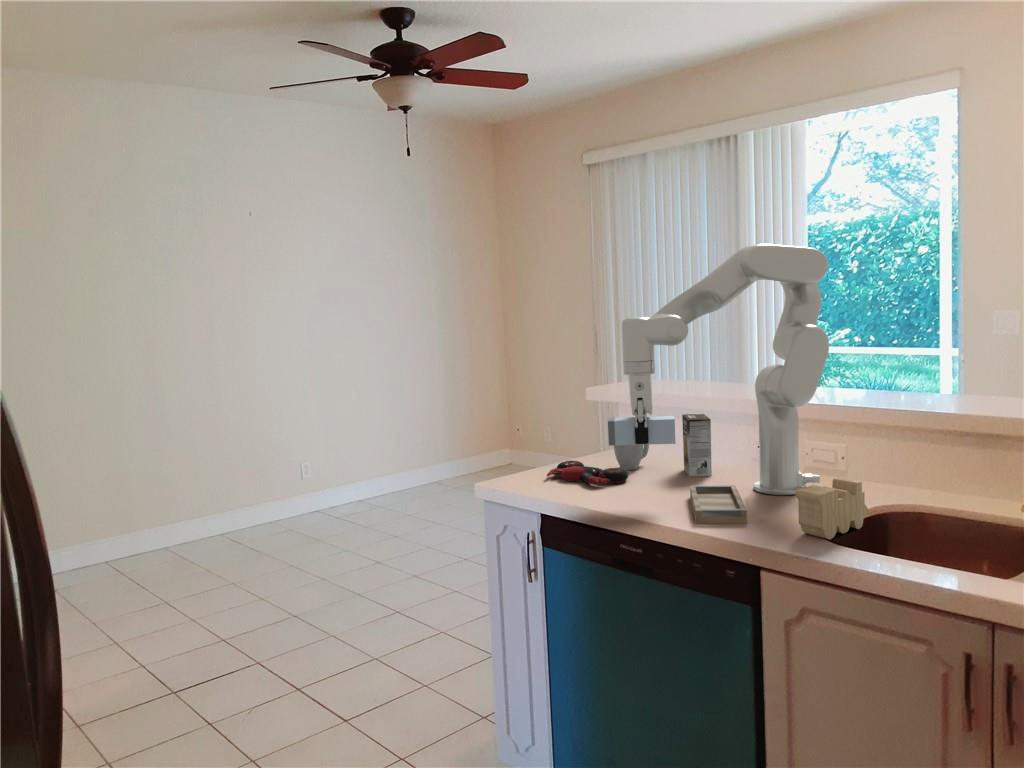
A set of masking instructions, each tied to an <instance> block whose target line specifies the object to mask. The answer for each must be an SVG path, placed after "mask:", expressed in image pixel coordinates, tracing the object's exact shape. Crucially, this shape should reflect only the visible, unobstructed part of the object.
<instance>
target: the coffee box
mask: <svg viewBox="0 0 1024 768" xmlns="http://www.w3.org/2000/svg"><path fill="white" fill-rule="evenodd" d="M681 416H682V420H681V421H682V442H683V443H682V444H683V449H682V451H683V470H684V471H685V472H686V474H687V475H688V476H689V477H709V476H710V477H711V476H713V475H712V424H711V423H712V421H711V418H710V417H708V416H707V415H706V414H704V413H699V414H698V413H689V414H688V413H687V414H686V413H685V414H682V415H681Z"/></svg>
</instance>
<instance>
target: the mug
mask: <svg viewBox="0 0 1024 768" xmlns="http://www.w3.org/2000/svg"><path fill="white" fill-rule="evenodd" d="M649 448H650V444H647V445H613V450H614V451H613V452H614V454H615V458H616V461H617V463H618V465H619V468H620V469H624V470H626V471H633V470H638V469H639V467H640V465H641V464H640V463H642V462H641V461H642V460H643V459H645V458H646V457H647V455H648V454H649V453H648V452H649V450H650V449H649Z"/></svg>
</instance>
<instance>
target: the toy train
mask: <svg viewBox="0 0 1024 768" xmlns="http://www.w3.org/2000/svg"><path fill="white" fill-rule="evenodd" d="M831 483H832V487H830V486H819V485H814V484H811V485H808V486H806V487H805V488H801V489H798V490H796V492H795V494H794V495H795V497H796V499H797V500H798V523H799V525H800V528H801V532H802V533H804V534H807V535H809V536H810V535H811V536H815V537H818V538H821V539H826V540H832V539H833V538H834V537H835V536H836V534H837V533H838V534H839V533H840V534H846V533H848V532H849V529H850V528H852V529H856V530H860V529H861V528H863V524H864V518H865V517H868V516H869V514H870V511H869V509H868V507H867V505H866V501H865V500H866V499H865V492H864V491H863V481H858V480H853V479H846V478H841V477H834V478H832V482H831Z"/></svg>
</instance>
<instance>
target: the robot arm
mask: <svg viewBox="0 0 1024 768" xmlns="http://www.w3.org/2000/svg"><path fill="white" fill-rule="evenodd" d="M828 269H829V262H828V258H827V256H826V254H824V253H823V251H821V250H820V249H817V248H814V247H807V246H797V245H795V246H794V245H784V244H783V245H781V244H774V243H773V244H772V243H759V244H753V245H751V244H750V245H746V246H744V247H742V248H740V249H739V250H737V251H736V252H734V253H733V254H732V255H731V256H730V257H729V258H727V259H726V260H725V261H724V262H722V263H721V264H720V265H718V266H717V268H715V269H714V270H713V271H711V272H710V273H708V275H706V276H705V277H704V278H702V279H701V280H700V281H698V282H696V283H695V284H694V285H692V286H690V287H689V288H688V289H686V290H685V291H683V292H682V293H680V294H679V295H678V296H676V297H674V298H673V299H672V300H671V301H669V302H668V303H666V304H665V305H664V306H663V307H661V308H660V309H659V310H658V311H656V312H655V313H653V315H652V316H651V317H648V316H636V317H635V316H633V317H625V318H624V319H623V320H622V322H621V339H622V340H621V343H622V364H623V365H622V367H623V375H625V376H628V387H629V401H630V407H631V414H632V415H633V417H635V426H636V428H635V443H636V444H648V443H649V439H648V427H647V417H648V416H647V414H649V415H650V416H652V415H653V391H652V389H653V388H652V377H651V375H654V374H655V373H656V371H655V370H656V368H655V367H656V366H655V365H656V364H655V346H669V347H673V346H677V345H679V344H682V343H683V342H684V341H685V340H686V338H687V337H688V334H689V326H688V325H689V324H690V323H692V322H694V321H695V320H697V319H699V318H701V317H702V316H706V315H707V314H711V313H714V312H716V311H719V310H720V309H723V308H724V307H726V306H727V305H728V304H729V303H730V302H732V301H733V300H735V298H737V297H738V296H739V295H741V294H742V293H743V292H744V291H745V290H747V289H748V288H750V287H751V286H752V285H753V284H754V283H755V282H757V281H761V280H763V281H764V280H765V281H775V282H779V283H780V285H781V287H782V289H783V292H784V298H785V299H784V305H783V309H782V313H781V315H780V319H779V322H778V325H777V328H776V330H775V332H774V337H773V341H772V351H773V353H774V354H775V356H777V357H778V358H779V359H782V360H784V363H783V364H770V365H768V366H765V367H763V368H762V369H761V370H760V371H759V372H758V374H757V375H756V378H755V382H754V391H755V398H756V403H757V413H758V439H759V440H758V450H759V451H758V453H759V456H758V457H759V480H758V481H755V482H754V483H753V489H754V491H756V492H758V493H761V494H766V495H772V496H773V495H776V496H790V495H792V496H793V495H795V492H796V490H798V489H801V488H805V487H807V483H809V484H810V483H812V484H820V481H821V480H820V475H817V474H812V473H802V471H801V470H800V421H799V420H800V419H799V418H800V417H799V411H798V408H800V407H803V406H805V405H806V404H809V402H810V401H811V400H812V399H813V397H814V396H815V394H816V392H817V388H818V385H819V383H820V380H821V377H822V375H823V371H824V368H825V364H826V362H827V359H828V356H829V352H830V351H829V350H830V343H829V337H828V335H827V332H825V330H824V329H823V328H821V327H820V326H818V325H817V324H818V320H819V317H820V313H821V308H822V307H821V306H822V293H821V290H820V286H819V284H818V282H820V281H821V280H822V279H823V278H825V276H826V274H827V272H828ZM643 417H644V418H643ZM644 422H645V423H644Z"/></svg>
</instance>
